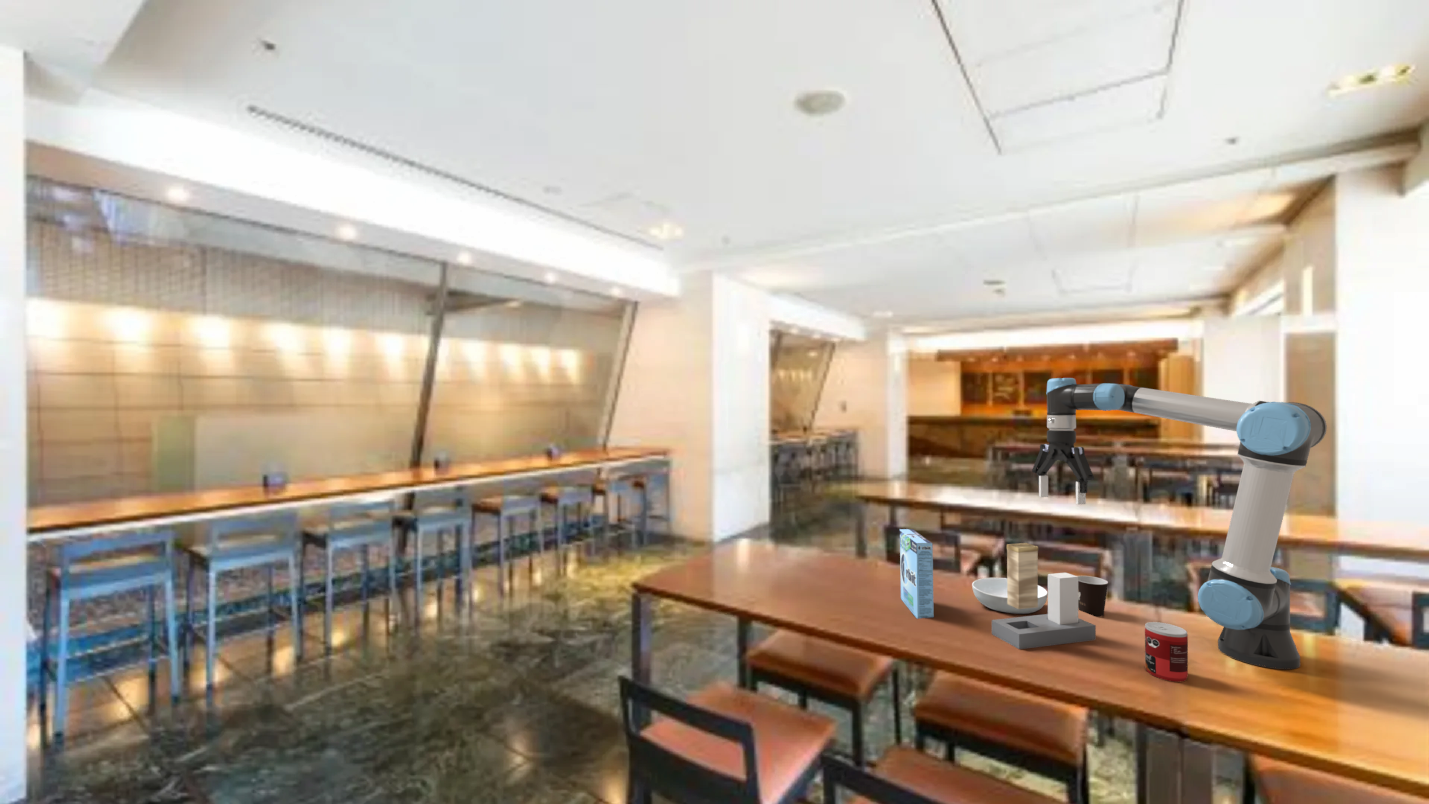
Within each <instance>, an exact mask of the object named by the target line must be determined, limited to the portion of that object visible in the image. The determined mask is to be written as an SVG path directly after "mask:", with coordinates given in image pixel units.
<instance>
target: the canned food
mask: <svg viewBox="0 0 1429 804" xmlns="http://www.w3.org/2000/svg"><path fill="white" fill-rule="evenodd" d="M1188 636H1189V635H1188V631H1187V630H1186V629H1185V628H1182V627H1180V626H1178V625H1174V624H1171V623H1168V622H1167V623H1165V622H1159V621H1150V622H1146V623H1145V625H1144V665H1145V666H1144V667H1145V670H1146V672H1147V673H1149V675H1151V676H1152V677H1155V678H1158V679H1160V680H1164V681H1169V682H1174V683H1175V682H1176V683H1180V682H1181V683H1182V682H1185V681H1187V679H1188V677H1189V669H1188V668H1189V663H1188V660H1189V653H1188V651H1189V649H1188V648H1189V647H1188V645H1189V637H1188Z"/></svg>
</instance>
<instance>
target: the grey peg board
mask: <svg viewBox="0 0 1429 804" xmlns="http://www.w3.org/2000/svg"><path fill="white" fill-rule="evenodd" d="M1096 629H1097V626H1096V624H1094V623H1091V622H1088V621H1087V620H1084V619H1082V618H1079V617H1078V623H1071V624H1062V625H1059V624H1057V623H1055V622H1053V621H1051V620H1048V613H1046V614H1036V615H1027V616H1026V615H1025V616H1018V617H1017V616H1015V617H1007V618H997V619H991V635H992V636H993V637H994V636H995V637H996V638H998V639H1000V640H1001V641H1003V642H1005V643H1007V644H1008V645H1011V646H1012V647H1015V648H1016V649H1018V650H1024V649H1026V650H1027V649H1031V648H1032V649H1033V648H1041V647H1048V646H1049V647H1050V646H1058V645H1063V644H1064V645H1065V644H1072V643H1073V644H1074V643H1081V642H1082V643H1083V642H1088V641H1090V642H1091V641H1096V639H1097V638H1096V637H1097V636H1096V633H1097V630H1096Z"/></svg>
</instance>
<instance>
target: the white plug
mask: <svg viewBox="0 0 1429 804" xmlns="http://www.w3.org/2000/svg"><path fill="white" fill-rule="evenodd" d="M1077 576H1078V575H1074V574H1072V573H1068V572H1057V573H1048V574H1047V592H1048V595H1047V614H1048V620H1051V621H1053V622H1055V623H1057V624H1059V625H1062V624H1071V623H1078V618H1079V608H1078V577H1077Z"/></svg>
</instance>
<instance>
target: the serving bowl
mask: <svg viewBox="0 0 1429 804" xmlns="http://www.w3.org/2000/svg"><path fill="white" fill-rule="evenodd" d="M971 587H972V591H973V594H974V596H975V598H976V599H977V601H978V602H980V604H982V605H983V606H985V607H987V608H989V609H991V610H993V611H997V612H1001V613H1006V614H1014V615H1016V614H1017V615H1026V614H1032V613H1036V612H1037V611H1039V610H1040V609H1042V608H1043V607H1044V606H1045V604H1046V603H1047V601H1048V590H1046V589H1045V587H1043V586H1041V585H1039V584H1038V607H1036V608H1026V609H1017V608H1015V607H1013V606H1010V605H1008V604H1007V577H984V578H979V579H976V580H974V581H973V582H972V583H971Z"/></svg>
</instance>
